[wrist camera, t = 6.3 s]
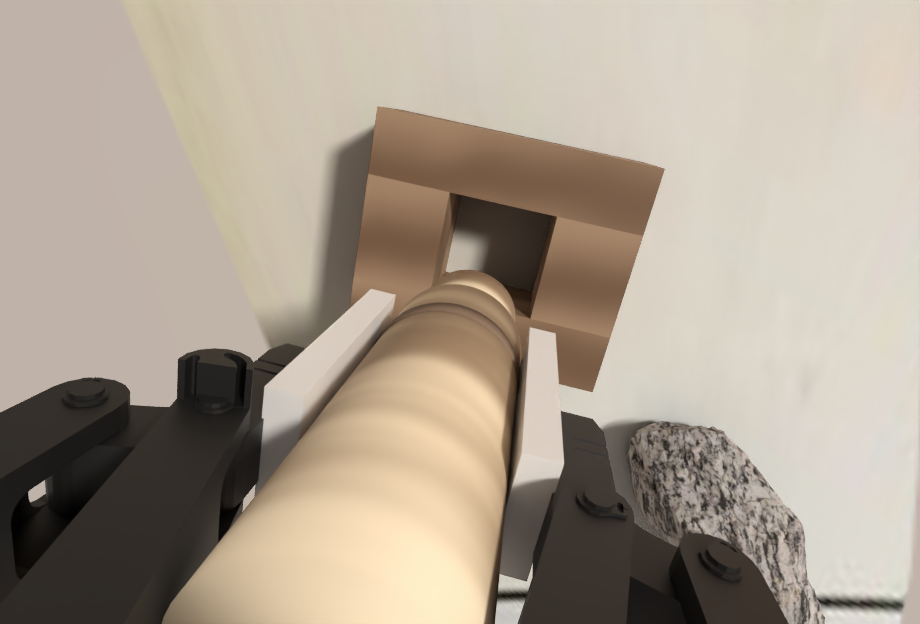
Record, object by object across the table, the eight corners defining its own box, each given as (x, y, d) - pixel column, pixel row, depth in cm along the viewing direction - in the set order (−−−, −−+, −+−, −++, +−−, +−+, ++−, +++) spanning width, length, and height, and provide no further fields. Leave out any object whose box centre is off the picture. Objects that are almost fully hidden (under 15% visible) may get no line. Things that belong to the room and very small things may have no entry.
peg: (423, 248, 19) (156, 509, 6) (537, 275, 19) (528, 614, 6) (404, 352, 20) (152, 755, 7) (510, 379, 20) (450, 849, 7)
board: (402, 110, 31) (377, 106, 26) (645, 163, 30) (664, 168, 25) (372, 304, 35) (346, 330, 30) (585, 356, 34) (592, 392, 29)
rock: (777, 602, 37) (861, 733, 28) (654, 614, 39) (691, 742, 29) (741, 385, 36) (815, 442, 26) (613, 405, 37) (638, 467, 27)
